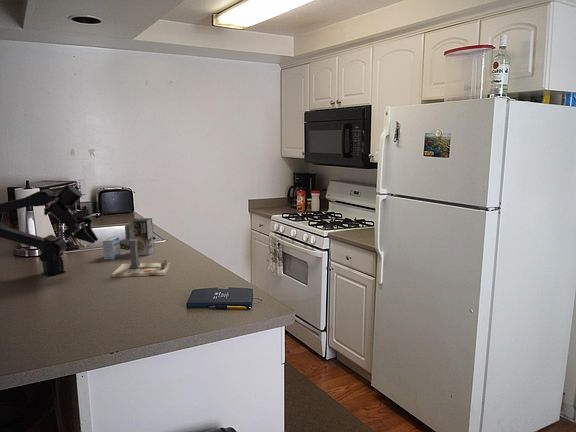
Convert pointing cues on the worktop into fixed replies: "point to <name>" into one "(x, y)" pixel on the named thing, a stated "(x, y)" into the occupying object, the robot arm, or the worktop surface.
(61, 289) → the worktop surface
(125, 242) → the media streaming box
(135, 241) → the dark grey tall block
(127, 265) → the switch panel
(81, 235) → the robot arm
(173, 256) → the worktop surface
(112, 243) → the medicine box
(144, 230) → the coffee box
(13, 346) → the worktop surface
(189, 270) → the worktop surface
